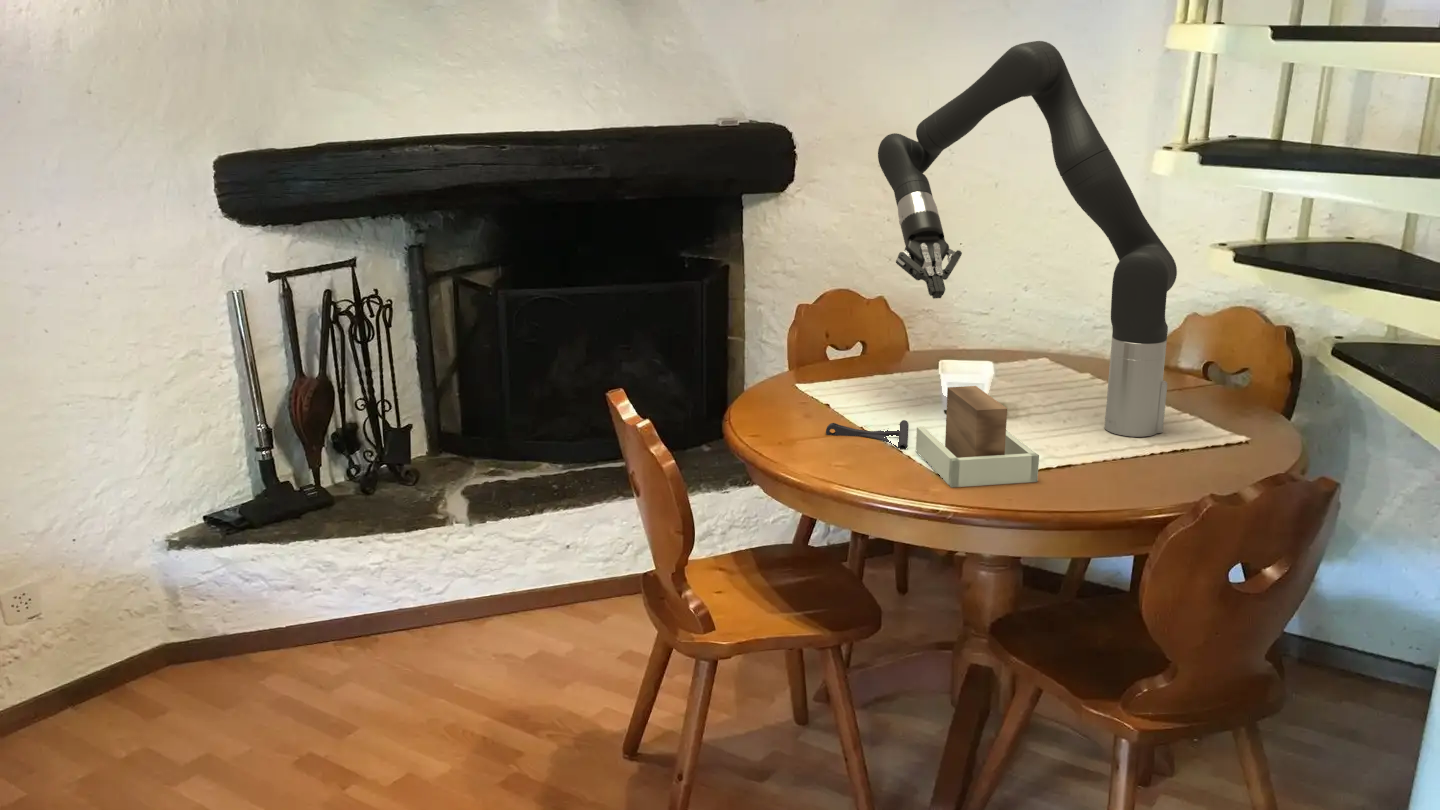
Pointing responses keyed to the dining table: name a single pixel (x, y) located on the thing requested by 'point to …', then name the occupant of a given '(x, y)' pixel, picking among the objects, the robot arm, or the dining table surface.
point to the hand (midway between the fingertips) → (938, 296)
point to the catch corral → (979, 463)
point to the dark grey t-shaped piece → (872, 433)
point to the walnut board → (974, 423)
